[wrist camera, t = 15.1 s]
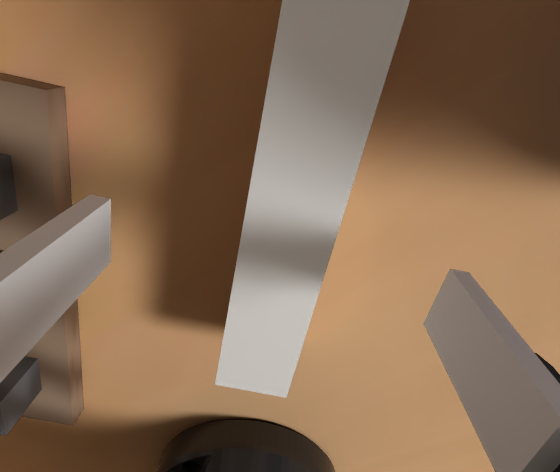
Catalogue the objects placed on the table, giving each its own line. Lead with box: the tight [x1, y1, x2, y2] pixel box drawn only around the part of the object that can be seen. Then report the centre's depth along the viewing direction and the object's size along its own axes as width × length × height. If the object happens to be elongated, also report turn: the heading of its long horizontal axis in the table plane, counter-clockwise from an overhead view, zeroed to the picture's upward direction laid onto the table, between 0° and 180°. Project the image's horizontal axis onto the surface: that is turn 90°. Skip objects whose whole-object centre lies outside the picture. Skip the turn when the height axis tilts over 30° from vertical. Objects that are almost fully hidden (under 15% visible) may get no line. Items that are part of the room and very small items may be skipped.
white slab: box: [215, 0, 410, 398], centre depth 18 cm, size 20×4×5 cm, turn 168°
